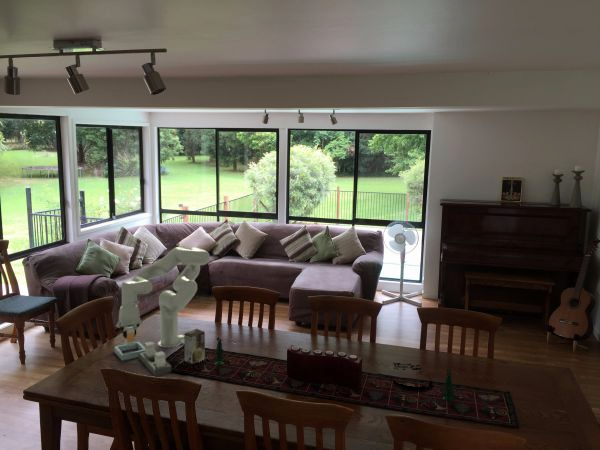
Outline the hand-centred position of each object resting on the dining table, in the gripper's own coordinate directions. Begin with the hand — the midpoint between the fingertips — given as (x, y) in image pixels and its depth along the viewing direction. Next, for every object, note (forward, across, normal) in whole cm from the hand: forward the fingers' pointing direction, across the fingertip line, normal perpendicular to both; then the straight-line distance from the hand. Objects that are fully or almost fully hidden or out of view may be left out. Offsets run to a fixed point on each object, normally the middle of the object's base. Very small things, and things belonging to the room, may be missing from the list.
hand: (129, 336), depth 270 cm
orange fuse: (+4, 0, 0) cm, 4 cm away
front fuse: (+10, -6, +28) cm, 30 cm away
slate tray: (+11, 0, 0) cm, 11 cm away
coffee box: (+11, -26, +25) cm, 38 cm away
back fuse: (+10, -6, +13) cm, 17 cm away
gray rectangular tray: (+11, -6, +20) cm, 24 cm away
